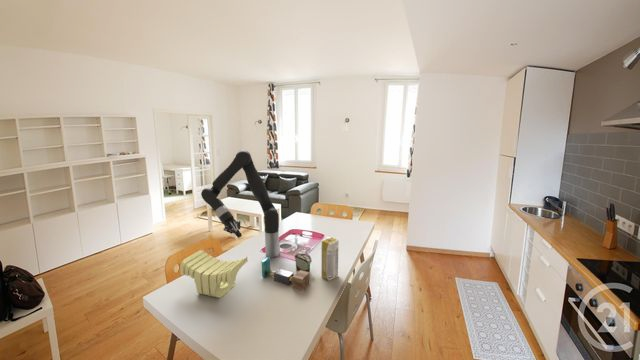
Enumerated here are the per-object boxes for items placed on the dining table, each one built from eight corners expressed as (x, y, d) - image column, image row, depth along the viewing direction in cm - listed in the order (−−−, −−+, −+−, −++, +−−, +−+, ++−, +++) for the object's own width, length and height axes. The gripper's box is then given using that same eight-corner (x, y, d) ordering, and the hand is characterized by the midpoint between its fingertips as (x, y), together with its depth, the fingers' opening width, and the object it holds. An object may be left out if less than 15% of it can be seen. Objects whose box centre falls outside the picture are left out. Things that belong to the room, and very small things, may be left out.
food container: (315, 272, 164) (315, 257, 163) (308, 276, 160) (308, 261, 158) (302, 265, 173) (301, 251, 171) (294, 269, 168) (294, 254, 166)
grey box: (268, 272, 164) (267, 257, 162) (296, 280, 155) (296, 264, 153) (262, 277, 158) (261, 261, 157) (290, 285, 150) (290, 269, 148)
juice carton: (330, 271, 166) (330, 234, 162) (340, 276, 161) (340, 237, 156) (319, 277, 160) (319, 238, 155) (329, 282, 154) (329, 242, 150)
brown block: (300, 281, 155) (300, 269, 154) (309, 283, 153) (309, 272, 151) (292, 288, 148) (292, 276, 147) (302, 291, 146) (302, 279, 144)
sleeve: (279, 276, 160) (279, 268, 159) (293, 280, 156) (293, 272, 155) (274, 281, 155) (273, 272, 154) (288, 285, 151) (288, 277, 150)
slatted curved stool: (182, 293, 144) (179, 262, 140) (203, 277, 159) (201, 249, 155) (231, 303, 135) (229, 270, 132) (248, 286, 150) (247, 256, 147)
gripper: (218, 214, 161) (235, 237, 158) (234, 208, 172) (250, 229, 169) (212, 221, 164) (229, 244, 161) (229, 215, 176) (244, 236, 173)
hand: (240, 236), depth 165 cm, fingers closed
